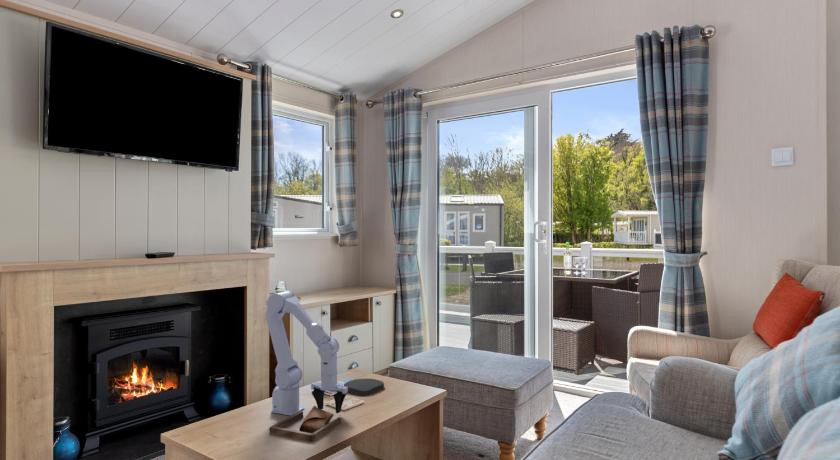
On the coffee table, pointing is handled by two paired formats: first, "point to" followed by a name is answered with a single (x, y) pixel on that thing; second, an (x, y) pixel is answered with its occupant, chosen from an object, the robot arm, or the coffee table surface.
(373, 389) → the media streaming box
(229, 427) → the coffee table surface
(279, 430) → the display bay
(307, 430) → the sunglasses case
